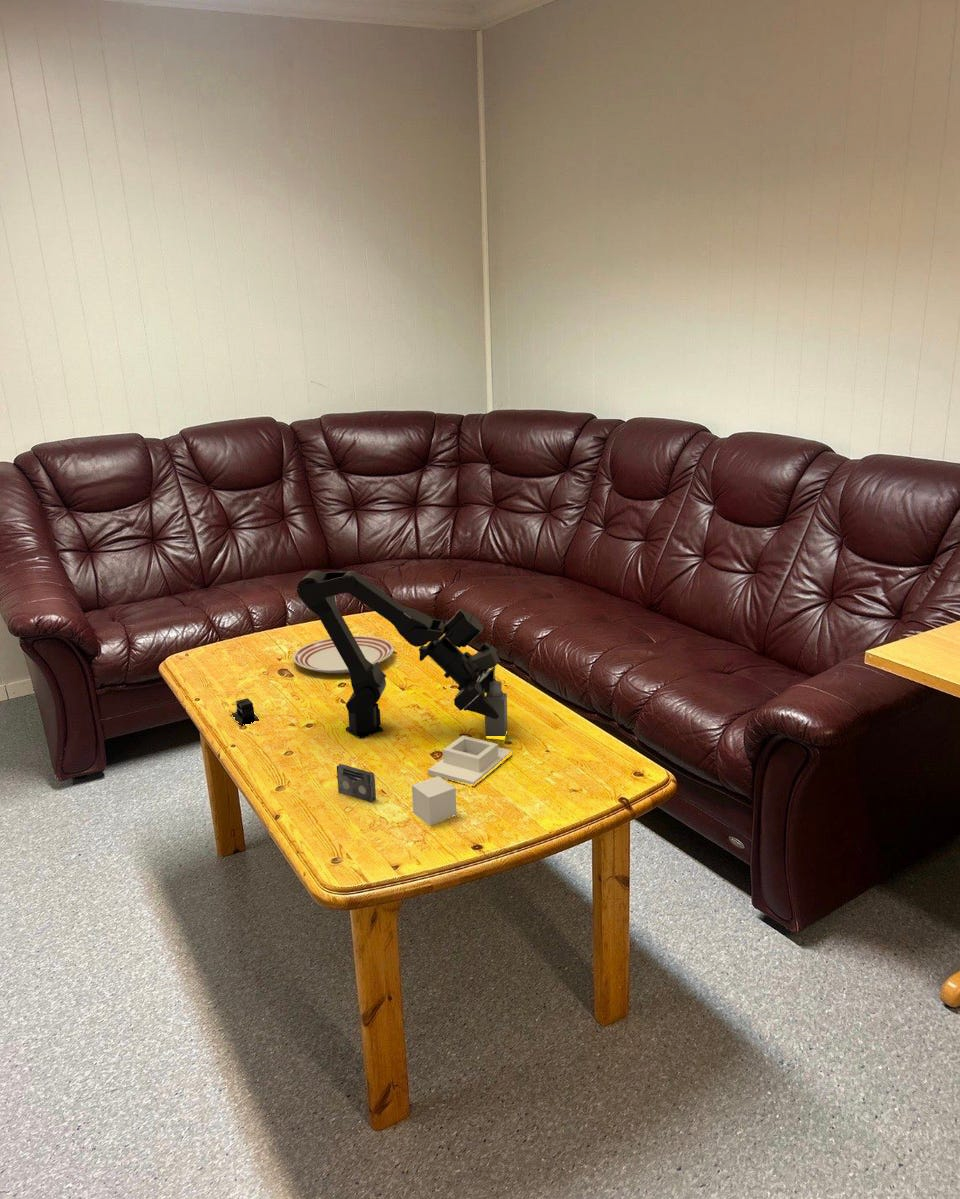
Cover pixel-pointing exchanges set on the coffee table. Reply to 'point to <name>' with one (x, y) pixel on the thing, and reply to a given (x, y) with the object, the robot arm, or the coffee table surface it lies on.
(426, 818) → the gray cube
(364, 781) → the mini dv tape
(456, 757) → the socket board
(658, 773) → the coffee table surface
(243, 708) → the black boxy piece
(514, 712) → the coffee table surface
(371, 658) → the dinner plate
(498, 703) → the plug
